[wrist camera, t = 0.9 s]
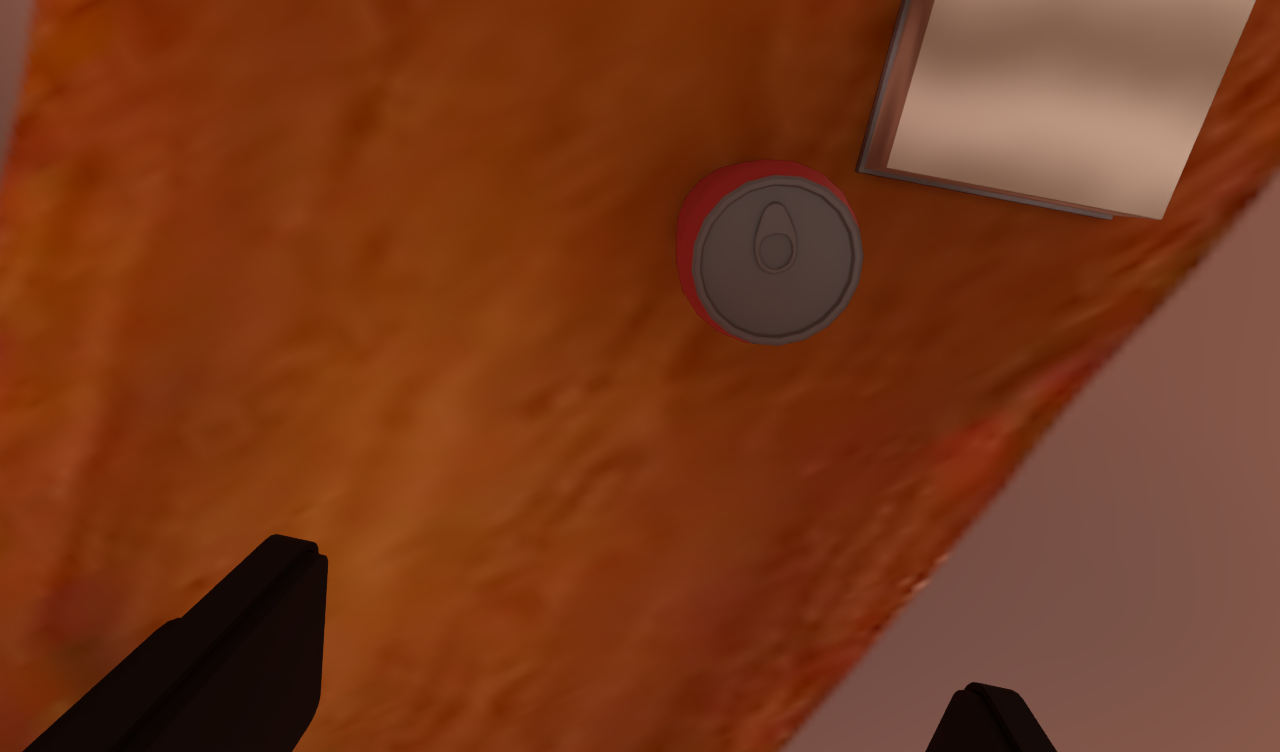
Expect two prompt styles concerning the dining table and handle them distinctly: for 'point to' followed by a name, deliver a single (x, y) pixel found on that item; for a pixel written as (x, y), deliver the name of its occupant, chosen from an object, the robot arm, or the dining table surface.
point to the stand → (1050, 98)
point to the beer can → (768, 251)
